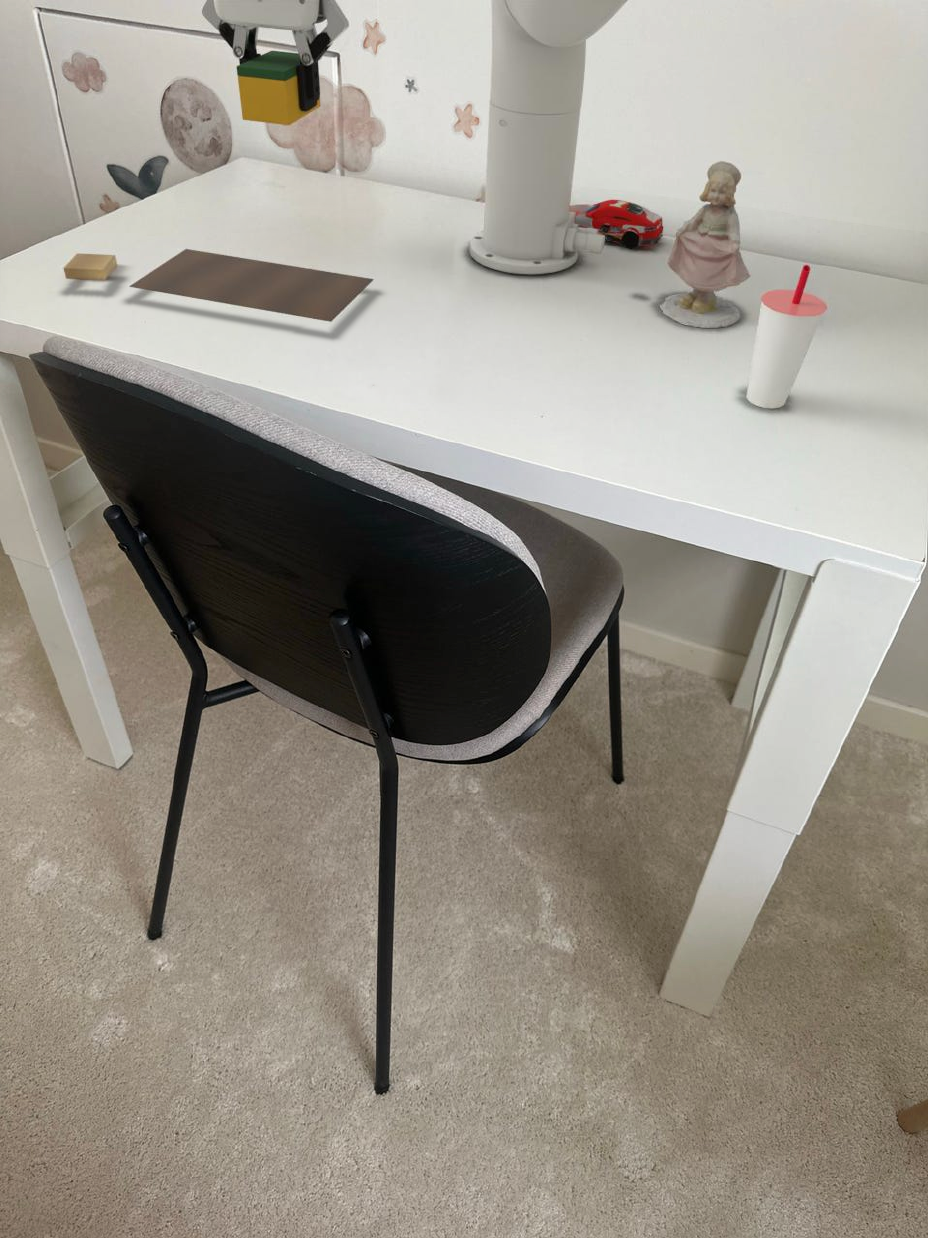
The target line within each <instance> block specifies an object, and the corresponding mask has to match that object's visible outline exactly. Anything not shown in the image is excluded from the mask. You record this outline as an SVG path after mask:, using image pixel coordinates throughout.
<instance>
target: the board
mask: <svg viewBox="0 0 928 1238" xmlns="http://www.w3.org/2000/svg"><path fill="white" fill-rule="evenodd" d="M373 281H374V279H373V278H368V277H363V276H357V275H350V274H344V273H338V272H331V271H325V270H319V269H313V268H307V267H300V266H294V265H288V264H282V263H276V262H271V261H264V260H258V259H252V258H245V257H239V256H233V255H227V254H220V253H214V252H208V251H201V250H196V249H189V248H185V249H184V250H182V251H181V252H179V253H177V254H176V255H175V256H172V257H171V258H170V259H168V260H167V261H165V262H163V263H162V264H160V265H159V266H158V267H156V268H155V269H153V270H152V271H150V272H148V273H147V274H146V275H144V276H143V277H141V278H140V279H138V280H137V281H135V282H133V283H132V284H131V285H129V288H133V289H139V290H144V291H145V290H147V291H152V292H158V293H162V294H169V295H175V296H181V297H186V298H191V299H199V300H203V301H208V302H215V303H221V304H227V305H232V306H238V307H244V308H249V309H254V310H260V311H267V312H272V313H273V312H274V313H278V314H285V315H290V316H297V317H301V318H307V319H313V320H319V321H324V322H332V321H333V320H334V319H335V318H336V317H338V315H340V314H341V313H342V312H343V311H344V309H345V308H347V307H348V306H349V305H350V304H351V303H352V302H353V301H354V300H355V299H356V297H358V296H359V295H360V294H361V293H362V292H363V291H364V290H365V289H366V288H367V287H368V286H369V285H370V284H371V283H372V282H373Z"/></svg>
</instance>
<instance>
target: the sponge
mask: <svg viewBox="0 0 928 1238" xmlns="http://www.w3.org/2000/svg"><path fill="white" fill-rule="evenodd" d="M299 64H300V56H299V53H298V52H289V51H280V50H270V51H268V52H265V53H262V54H261V56H258V57H256V58H254V59H252V60H249V61H247V62H245V63H243V64H240V63H239V64H238V65H236V75H237V84H238V92H239V100H240V109H241V118H242V120H243V121H249V122H256V123H257V122H258V123H267V124H274V125H281V126H291V125H292V124H294V123H296V122H297V121H299V120H301V119H302V118H304V117H305V116H307V115H308V114H310V113H313V112H314V111H315V110H317V109H319V108H320V107H321V97H320V98H319V100H318V101H317V106H315V107H314V108H312V109H310V110H309V111H307V112H305V111H301V109H300V107H299V94H298V81H297V65H299Z"/></svg>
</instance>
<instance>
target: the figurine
mask: <svg viewBox="0 0 928 1238" xmlns="http://www.w3.org/2000/svg"><path fill="white" fill-rule="evenodd" d="M706 177H707V179H708V180H707V182H706V183H705V187H704V189H703V192H702V193H701V194H700V195H699V197H698V198H699V200H700V202H704V203H706V202H707V203H706V204H704V205H702V206H701V208H699V209H698V210H697V212H696V213H695V215H694V216H693V217H691V218H690V219H688V220H685V221H684V222H683V224H682V227H679V228H678V229H677V231H676V232H675V240H674V243H673V247H672V249H671V253H670V254H669V258H668V260H667V265H668V267H669V268H670V269H671V270H672V271H673V272H674V273H675V274H676V275H677V276H678V277H679V278H680V279H681V281H683V282H684V283H685V284H686V285H687V286H689V287H691V288H692V291H689V292H686V293H675V294H671V295H669V296H666V298H664V300H665V301H663V302H662V303H661V304H659V308H660V310H661V311H662V313H663V315H665V316H666V317H668V318H670V319H672V320H673V321H675V322H678V323H679V324H681V325H685V326H691V327H693V328H701V329H703V328H704V329H719V328H721V327H722V328H726V327H728V326H732V325H734V324H735V323H737V322H738V321H739V320H740V318H741V312H740V310H739V309H738V308H737V307H736V306H735V304H734V303H733V302H731V301H730V300H728V299H724V298H722V297H721V296H717V295H716V293H715V292H719V291H722V290H725V289H727V288H730V287H732V288H733V287H736V286H740V284H742V283H744V282H745V281H747V280H749V279H750V278H751V274H750V273H749V270H748V268H747V266H746V264H745V262H744V259H743V257H742V253H741V251H740V247H741V246H740V244H741V225H740V224H741V223H740V219H739V214H738V212H737V211H736V208H735V207H736V206H735V205H736V204H737V201H736V199H735V194H736V193H737V185H738V184H739V183H740V181H741V179H742V173H741V172H740V169H739V168H738V167H737V166H736V165H734V164H733V163H731V162H727V161H723V160H719V161H717V162H714V163H713V164H711V165H710V167H708V169H707V174H706ZM638 297H642V295H641V294H639V295H638Z"/></svg>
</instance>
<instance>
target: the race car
mask: <svg viewBox="0 0 928 1238" xmlns="http://www.w3.org/2000/svg"><path fill="white" fill-rule="evenodd" d="M569 211H571V212H575V221H574V224H578V227H582V228H593V229H598V235H605V242H607V241H608V242H612V243H618V244H623V246H624V247H625V248H627V249H634V248H636V247H637V246H639V247H645V246H646V247H647V246H652V245H655V244H658V243H659V242H660V240H661V239H662V238H663V236H664V235H663V232H664V226H663V217H662V216H661V215H659V214H657V213H655V212H653V211H651V210H649V209H648V208H646V207H645V206H642V205H640V204H637V203H633V202H630V201H627V200H621V199H607V200H604V201H601V202H597V203H595V204H572V205H570V210H569Z"/></svg>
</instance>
